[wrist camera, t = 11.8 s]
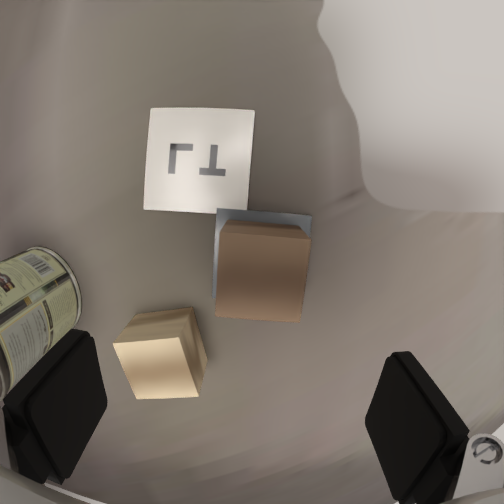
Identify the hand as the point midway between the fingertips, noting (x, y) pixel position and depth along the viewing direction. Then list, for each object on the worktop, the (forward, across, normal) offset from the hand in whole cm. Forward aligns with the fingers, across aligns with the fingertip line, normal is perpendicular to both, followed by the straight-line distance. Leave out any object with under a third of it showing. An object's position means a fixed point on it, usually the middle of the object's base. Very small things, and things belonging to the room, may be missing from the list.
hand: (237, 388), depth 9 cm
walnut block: (+18, -1, +1) cm, 18 cm away
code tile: (+19, +5, -7) cm, 21 cm away
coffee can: (+19, +22, +7) cm, 30 cm away
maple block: (+19, +7, +10) cm, 22 cm away
